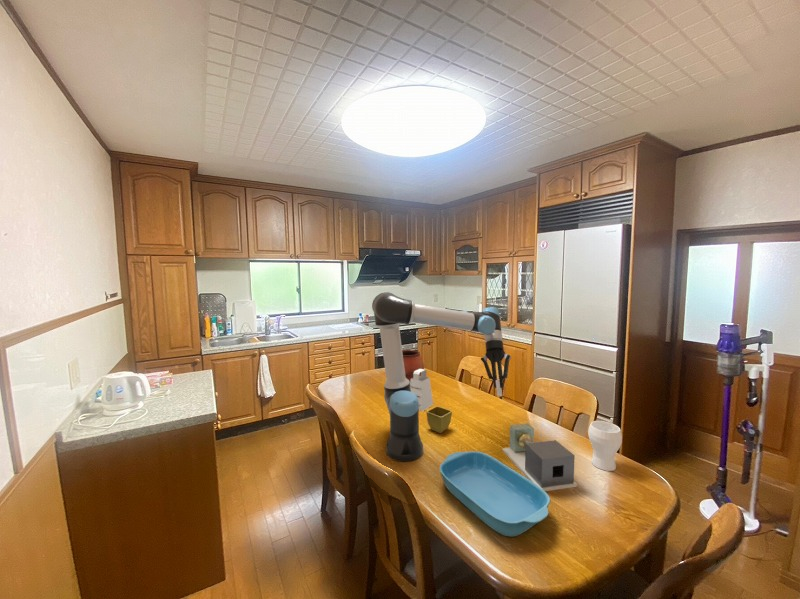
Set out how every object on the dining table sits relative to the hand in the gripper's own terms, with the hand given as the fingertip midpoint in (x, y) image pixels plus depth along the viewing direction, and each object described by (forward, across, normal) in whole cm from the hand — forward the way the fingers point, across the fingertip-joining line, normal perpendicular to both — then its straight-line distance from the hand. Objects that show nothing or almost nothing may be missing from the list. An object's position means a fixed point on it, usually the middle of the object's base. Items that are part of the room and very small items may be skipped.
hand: (499, 395), depth 136 cm
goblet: (-8, -64, +36) cm, 74 cm away
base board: (+26, +11, 0) cm, 28 cm away
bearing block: (+28, +15, -6) cm, 33 cm away
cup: (+26, +32, +13) cm, 43 cm away
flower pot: (+13, -31, +6) cm, 34 cm away
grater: (+1, -49, +23) cm, 55 cm away
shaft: (+23, +9, +1) cm, 25 cm away
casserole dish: (+35, -1, -24) cm, 43 cm away
